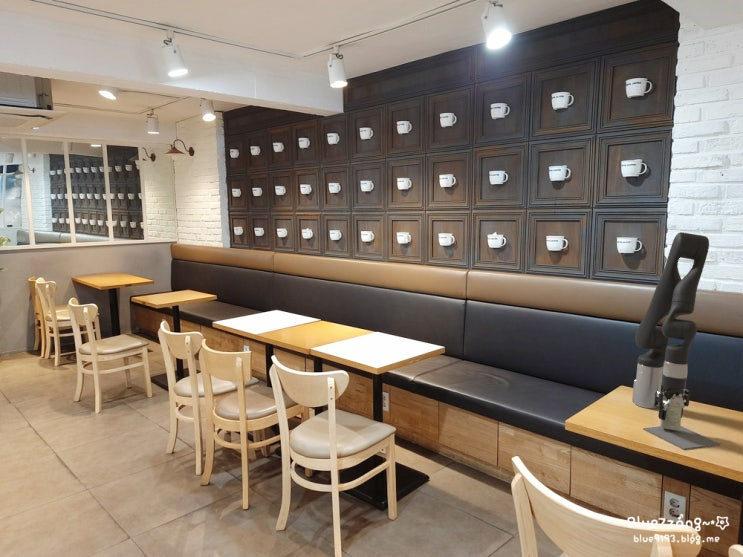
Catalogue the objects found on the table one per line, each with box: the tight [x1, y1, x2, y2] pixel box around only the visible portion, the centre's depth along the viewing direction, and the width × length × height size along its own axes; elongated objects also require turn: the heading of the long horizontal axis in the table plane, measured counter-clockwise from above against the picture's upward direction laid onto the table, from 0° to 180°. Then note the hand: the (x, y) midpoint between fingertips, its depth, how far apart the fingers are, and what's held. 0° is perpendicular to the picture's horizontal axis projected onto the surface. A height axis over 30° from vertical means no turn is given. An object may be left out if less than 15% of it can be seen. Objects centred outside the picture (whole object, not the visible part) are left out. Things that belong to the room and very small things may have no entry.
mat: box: [642, 425, 721, 451], centre depth 181 cm, size 17×16×1 cm
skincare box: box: [660, 396, 682, 431], centre depth 185 cm, size 6×4×12 cm
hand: (670, 418), depth 185 cm, fingers closed on skincare box, 7 cm apart
